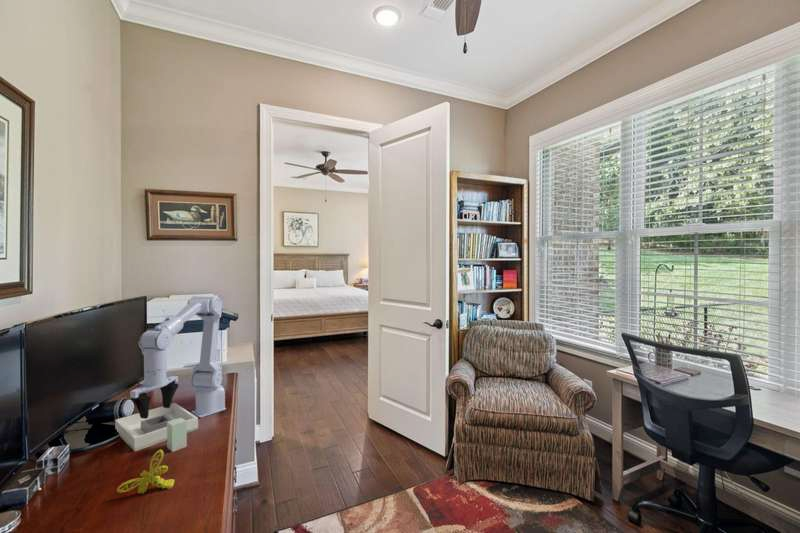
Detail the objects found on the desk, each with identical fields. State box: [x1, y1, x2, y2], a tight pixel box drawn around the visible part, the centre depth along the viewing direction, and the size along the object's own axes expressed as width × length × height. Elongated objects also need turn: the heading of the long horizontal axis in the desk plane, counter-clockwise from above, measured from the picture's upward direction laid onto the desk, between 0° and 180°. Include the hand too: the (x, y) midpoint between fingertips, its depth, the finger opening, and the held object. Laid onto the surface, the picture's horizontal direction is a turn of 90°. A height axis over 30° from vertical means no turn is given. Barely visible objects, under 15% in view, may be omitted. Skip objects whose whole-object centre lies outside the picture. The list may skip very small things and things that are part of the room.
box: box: [114, 402, 199, 452], centre depth 120 cm, size 18×20×4 cm
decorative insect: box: [116, 449, 175, 495], centre depth 90 cm, size 12×3×10 cm
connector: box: [166, 418, 188, 452], centre depth 110 cm, size 4×4×8 cm
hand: (155, 412), depth 110 cm, fingers open, 7 cm apart
